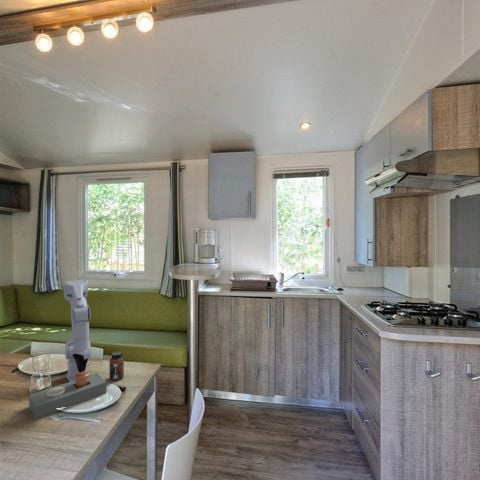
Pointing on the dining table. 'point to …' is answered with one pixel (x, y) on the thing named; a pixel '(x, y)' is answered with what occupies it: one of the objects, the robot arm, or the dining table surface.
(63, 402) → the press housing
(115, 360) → the supplement bottle
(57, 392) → the plunger
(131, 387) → the dining table surface
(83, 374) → the terracotta plunger
